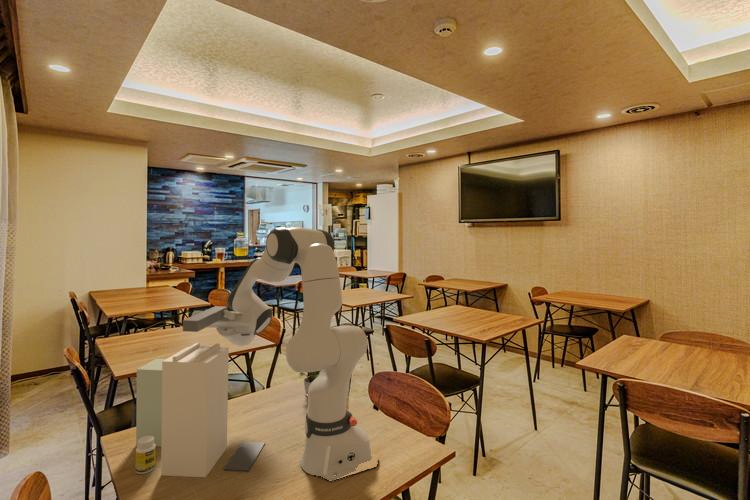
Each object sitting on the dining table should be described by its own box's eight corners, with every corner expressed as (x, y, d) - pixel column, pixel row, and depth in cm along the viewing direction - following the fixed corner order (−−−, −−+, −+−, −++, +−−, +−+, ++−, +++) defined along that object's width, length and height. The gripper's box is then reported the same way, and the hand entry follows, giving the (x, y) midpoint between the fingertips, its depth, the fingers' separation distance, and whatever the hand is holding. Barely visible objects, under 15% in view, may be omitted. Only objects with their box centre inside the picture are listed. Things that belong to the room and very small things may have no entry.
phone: (242, 444, 119) (242, 441, 119) (264, 445, 119) (265, 442, 119) (223, 472, 105) (223, 468, 105) (248, 473, 105) (248, 470, 105)
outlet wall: (188, 445, 117) (190, 341, 115) (227, 447, 116) (229, 343, 115) (161, 475, 102) (162, 356, 101) (205, 477, 102) (207, 358, 101)
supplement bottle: (146, 475, 102) (146, 445, 101) (130, 473, 103) (131, 442, 102) (159, 465, 107) (159, 435, 106) (145, 462, 107) (145, 433, 107)
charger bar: (215, 315, 123) (215, 306, 123) (227, 315, 123) (227, 306, 123) (182, 331, 103) (182, 320, 103) (197, 331, 103) (197, 320, 103)
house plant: (303, 406, 145) (304, 364, 145) (286, 394, 156) (287, 354, 155) (334, 397, 155) (335, 357, 154) (316, 386, 165) (317, 348, 164)
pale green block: (155, 428, 126) (156, 358, 125) (179, 429, 126) (180, 359, 125) (136, 445, 116) (136, 369, 115) (162, 446, 116) (162, 370, 115)
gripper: (203, 314, 133) (185, 301, 121) (261, 317, 132) (249, 303, 120) (198, 332, 130) (180, 320, 118) (258, 335, 130) (245, 323, 117)
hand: (215, 312), depth 119 cm, fingers closed on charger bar, 4 cm apart
